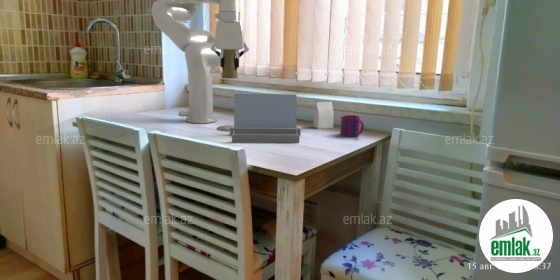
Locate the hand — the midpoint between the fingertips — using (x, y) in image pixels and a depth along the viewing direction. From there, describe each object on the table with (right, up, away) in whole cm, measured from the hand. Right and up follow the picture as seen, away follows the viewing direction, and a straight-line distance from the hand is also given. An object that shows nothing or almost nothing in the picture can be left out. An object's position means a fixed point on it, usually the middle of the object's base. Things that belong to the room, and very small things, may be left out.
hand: (229, 68), depth 152 cm
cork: (0, -3, +1) cm, 3 cm away
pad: (0, -22, +5) cm, 22 cm away
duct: (+13, -26, -11) cm, 31 cm away
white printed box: (+35, -21, +11) cm, 43 cm away
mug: (+44, -25, -5) cm, 51 cm away
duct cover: (+13, -16, -5) cm, 21 cm away
